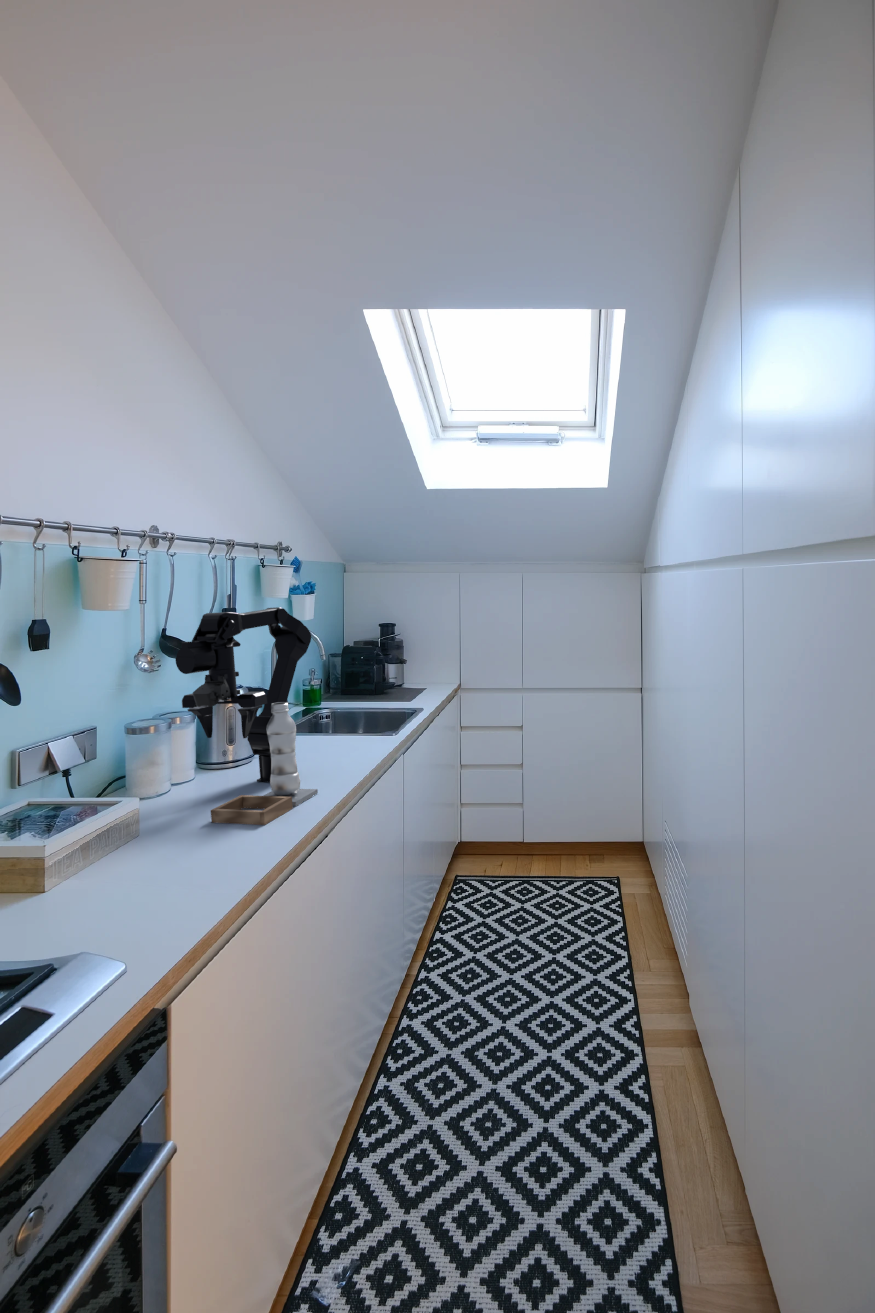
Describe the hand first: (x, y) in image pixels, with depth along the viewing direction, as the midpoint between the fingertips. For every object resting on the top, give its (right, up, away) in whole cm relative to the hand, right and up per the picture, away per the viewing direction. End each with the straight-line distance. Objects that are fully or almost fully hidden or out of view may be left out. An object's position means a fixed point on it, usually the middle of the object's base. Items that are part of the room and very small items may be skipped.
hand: (227, 738), depth 169 cm
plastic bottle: (+14, -12, -5) cm, 19 cm away
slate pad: (+14, -13, -5) cm, 20 cm away
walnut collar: (+10, -14, -16) cm, 24 cm away
